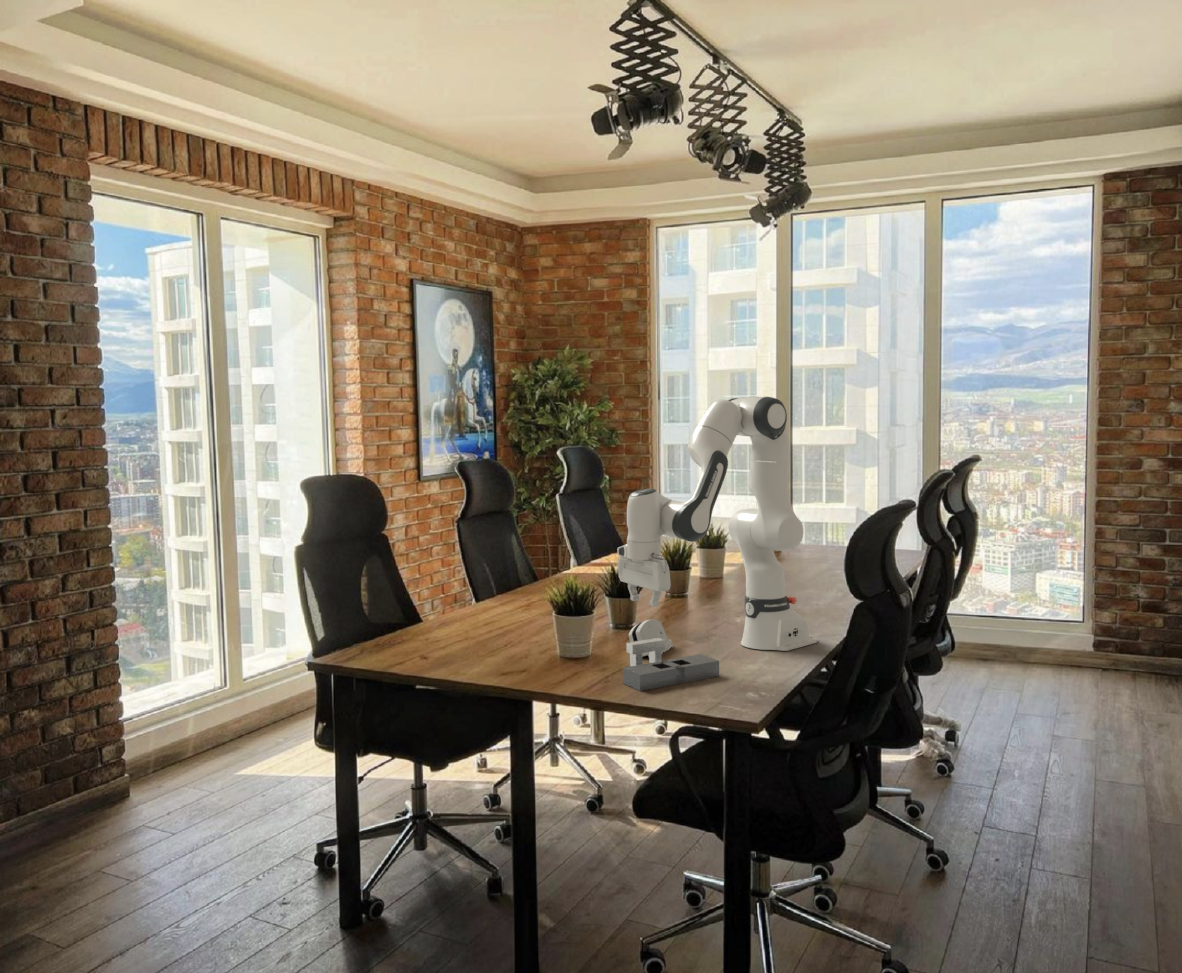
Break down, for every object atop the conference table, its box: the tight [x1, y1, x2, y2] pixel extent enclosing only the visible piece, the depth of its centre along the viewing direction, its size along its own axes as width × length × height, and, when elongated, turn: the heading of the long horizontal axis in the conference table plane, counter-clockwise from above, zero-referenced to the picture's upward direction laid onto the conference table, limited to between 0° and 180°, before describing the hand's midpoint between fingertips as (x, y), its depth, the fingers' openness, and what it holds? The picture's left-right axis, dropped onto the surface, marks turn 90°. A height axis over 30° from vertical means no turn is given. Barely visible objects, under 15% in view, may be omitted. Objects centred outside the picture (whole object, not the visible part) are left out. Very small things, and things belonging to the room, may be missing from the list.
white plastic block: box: [628, 619, 675, 658], centre depth 277 cm, size 17×5×10 cm, turn 153°
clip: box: [625, 638, 665, 667], centre depth 258 cm, size 10×3×8 cm, turn 119°
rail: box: [622, 654, 720, 692], centre depth 248 cm, size 24×8×4 cm, turn 119°
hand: (644, 603), depth 257 cm, fingers open, 8 cm apart
